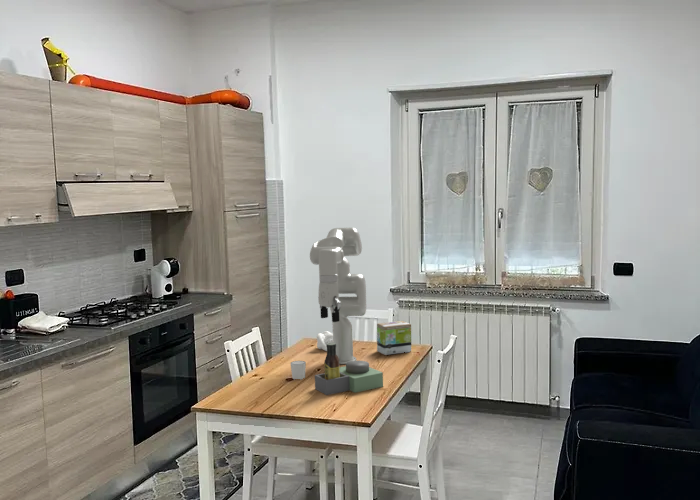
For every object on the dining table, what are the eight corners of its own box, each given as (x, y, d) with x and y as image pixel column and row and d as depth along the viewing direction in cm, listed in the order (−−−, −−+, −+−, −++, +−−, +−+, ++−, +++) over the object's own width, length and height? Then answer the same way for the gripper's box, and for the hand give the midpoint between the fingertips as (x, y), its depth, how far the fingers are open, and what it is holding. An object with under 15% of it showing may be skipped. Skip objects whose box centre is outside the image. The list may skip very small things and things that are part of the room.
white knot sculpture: (338, 346, 344) (337, 329, 343) (339, 351, 332) (338, 334, 331) (317, 347, 343) (316, 330, 342) (317, 352, 331) (316, 335, 330)
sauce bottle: (325, 387, 273) (324, 341, 271) (340, 387, 273) (339, 341, 271) (324, 392, 266) (323, 345, 264) (339, 392, 266) (338, 344, 264)
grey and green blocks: (310, 386, 274) (310, 366, 274) (360, 376, 287) (360, 356, 286) (331, 397, 259) (330, 375, 258) (383, 386, 272) (382, 365, 271)
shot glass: (308, 376, 290) (308, 360, 290) (302, 380, 284) (302, 365, 283) (294, 375, 292) (294, 360, 292) (288, 379, 286) (287, 364, 285)
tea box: (385, 355, 321) (384, 326, 320) (376, 351, 330) (376, 323, 329) (412, 352, 327) (411, 323, 326) (402, 347, 336) (402, 319, 335)
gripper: (310, 277, 271) (312, 317, 272) (330, 282, 256) (332, 324, 258) (326, 275, 274) (328, 315, 276) (346, 280, 260) (348, 322, 261)
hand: (330, 319), depth 267 cm, fingers open, 9 cm apart
